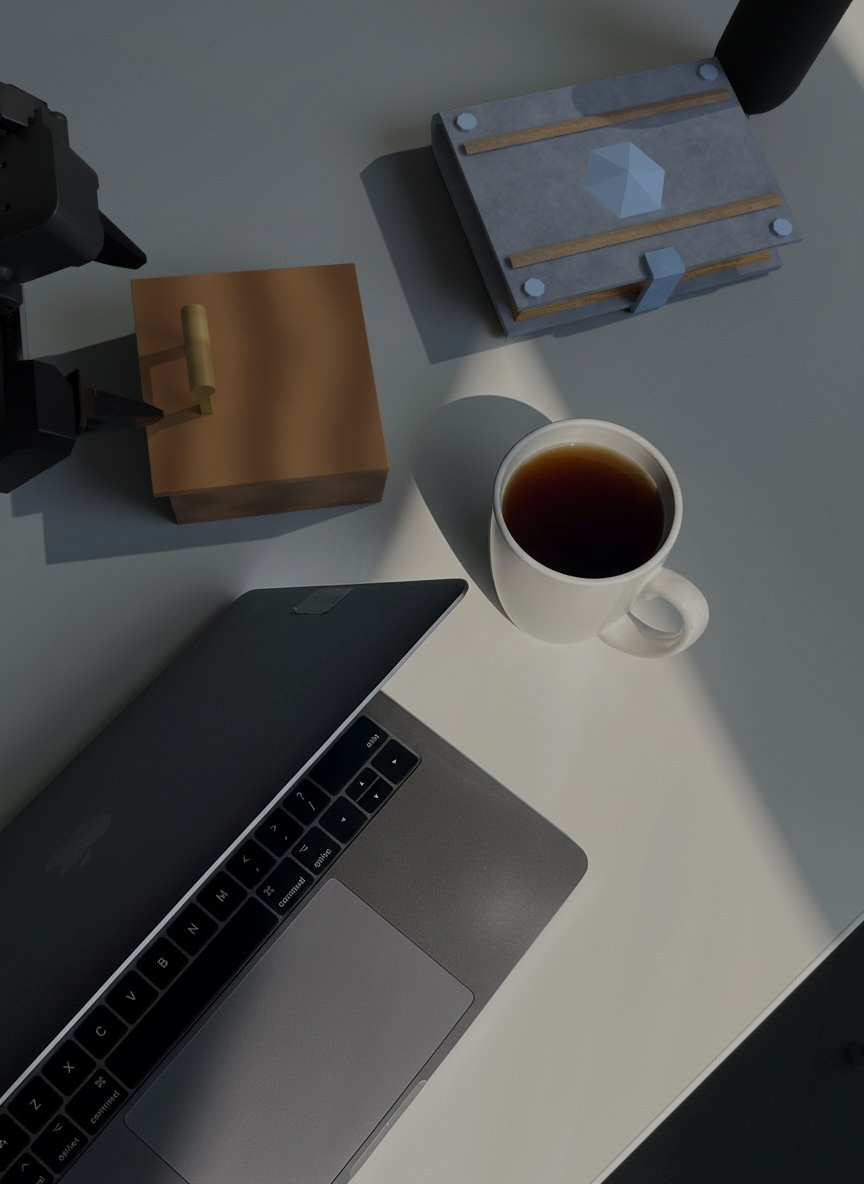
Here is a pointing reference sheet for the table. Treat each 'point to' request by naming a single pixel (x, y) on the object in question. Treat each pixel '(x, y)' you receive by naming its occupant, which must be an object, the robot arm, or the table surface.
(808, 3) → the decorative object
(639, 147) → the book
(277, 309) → the lid
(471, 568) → the table surface
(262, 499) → the chest
